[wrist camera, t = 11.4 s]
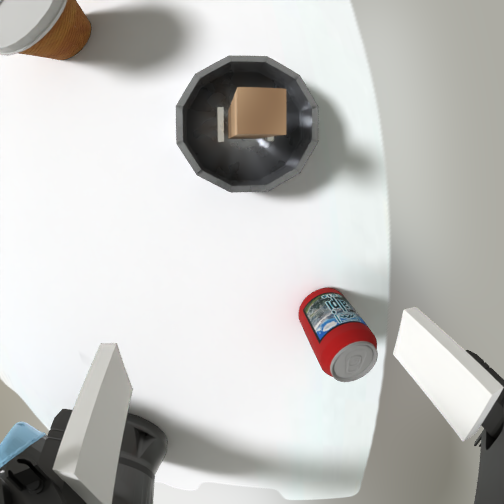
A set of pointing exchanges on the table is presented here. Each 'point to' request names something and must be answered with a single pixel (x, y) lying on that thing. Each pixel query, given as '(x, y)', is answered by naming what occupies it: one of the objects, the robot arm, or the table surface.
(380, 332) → the table surface
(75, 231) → the table surface
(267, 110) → the long wooden beam
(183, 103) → the tin
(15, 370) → the table surface
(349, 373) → the beverage can
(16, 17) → the disposable coffee cup
